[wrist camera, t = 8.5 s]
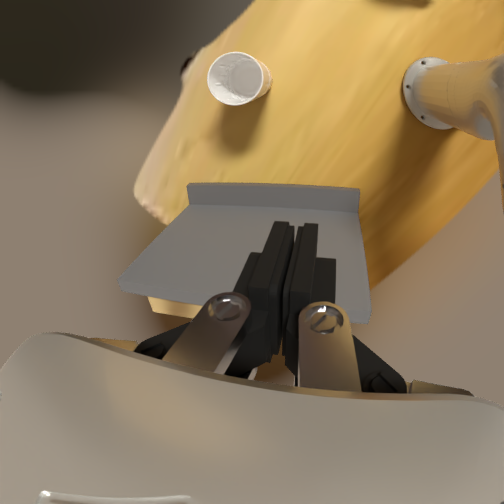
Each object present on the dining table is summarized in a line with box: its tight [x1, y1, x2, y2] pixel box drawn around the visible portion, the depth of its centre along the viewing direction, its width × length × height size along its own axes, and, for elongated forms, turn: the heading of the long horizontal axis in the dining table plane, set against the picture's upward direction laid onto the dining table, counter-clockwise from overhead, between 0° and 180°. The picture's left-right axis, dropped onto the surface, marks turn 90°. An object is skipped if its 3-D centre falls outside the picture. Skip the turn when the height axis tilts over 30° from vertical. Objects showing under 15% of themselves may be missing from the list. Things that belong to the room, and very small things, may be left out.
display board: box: [117, 183, 372, 324], centre depth 43 cm, size 32×10×26 cm, turn 93°
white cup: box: [207, 52, 273, 106], centre depth 37 cm, size 8×8×10 cm
